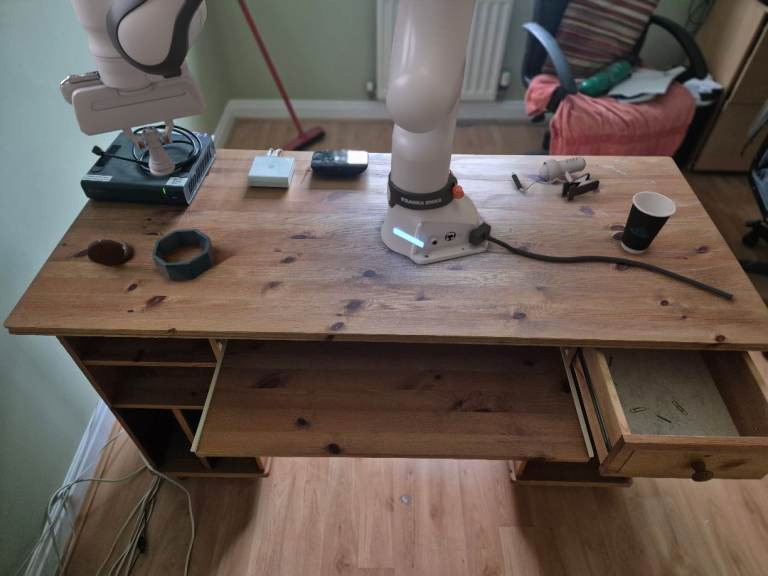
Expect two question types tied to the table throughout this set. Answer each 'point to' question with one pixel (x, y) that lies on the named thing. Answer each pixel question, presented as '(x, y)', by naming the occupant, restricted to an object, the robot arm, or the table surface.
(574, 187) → the clip-on lamp
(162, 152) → the rook chess piece
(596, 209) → the table surface
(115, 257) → the dark brown rounded lump
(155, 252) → the octagonal bangle
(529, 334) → the table surface
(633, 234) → the dixie cup
